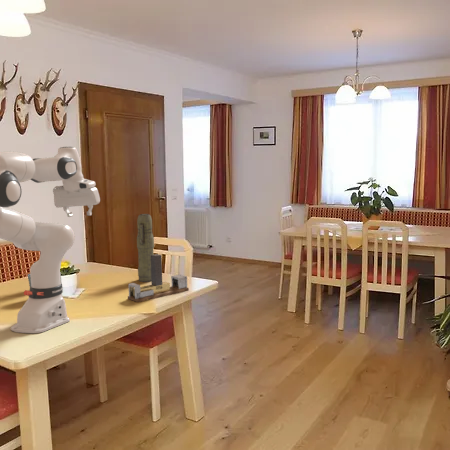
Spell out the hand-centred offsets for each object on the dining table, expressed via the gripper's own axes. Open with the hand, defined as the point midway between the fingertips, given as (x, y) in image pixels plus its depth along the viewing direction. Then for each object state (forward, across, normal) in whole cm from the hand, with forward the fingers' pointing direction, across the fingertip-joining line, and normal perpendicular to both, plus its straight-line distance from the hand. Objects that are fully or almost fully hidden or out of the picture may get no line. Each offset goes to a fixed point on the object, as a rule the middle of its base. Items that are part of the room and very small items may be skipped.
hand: (79, 216), depth 209 cm
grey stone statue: (+45, +9, +40) cm, 61 cm away
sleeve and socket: (+43, +25, +14) cm, 52 cm away
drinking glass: (+38, -26, -2) cm, 46 cm away
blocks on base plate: (+41, +23, +11) cm, 48 cm away
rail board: (+43, +25, +14) cm, 52 cm away
